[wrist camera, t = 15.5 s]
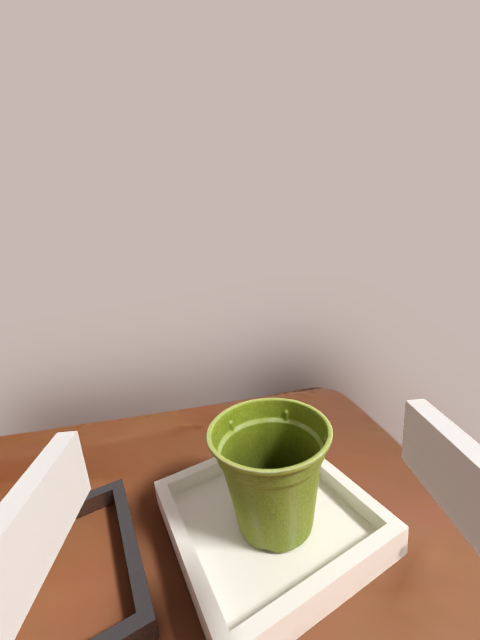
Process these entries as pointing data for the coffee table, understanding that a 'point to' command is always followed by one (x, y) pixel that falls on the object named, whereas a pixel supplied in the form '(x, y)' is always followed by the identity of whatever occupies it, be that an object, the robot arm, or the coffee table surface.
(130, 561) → the grey square frame
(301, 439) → the plant pot
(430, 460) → the robot arm
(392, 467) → the coffee table surface
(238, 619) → the tray
